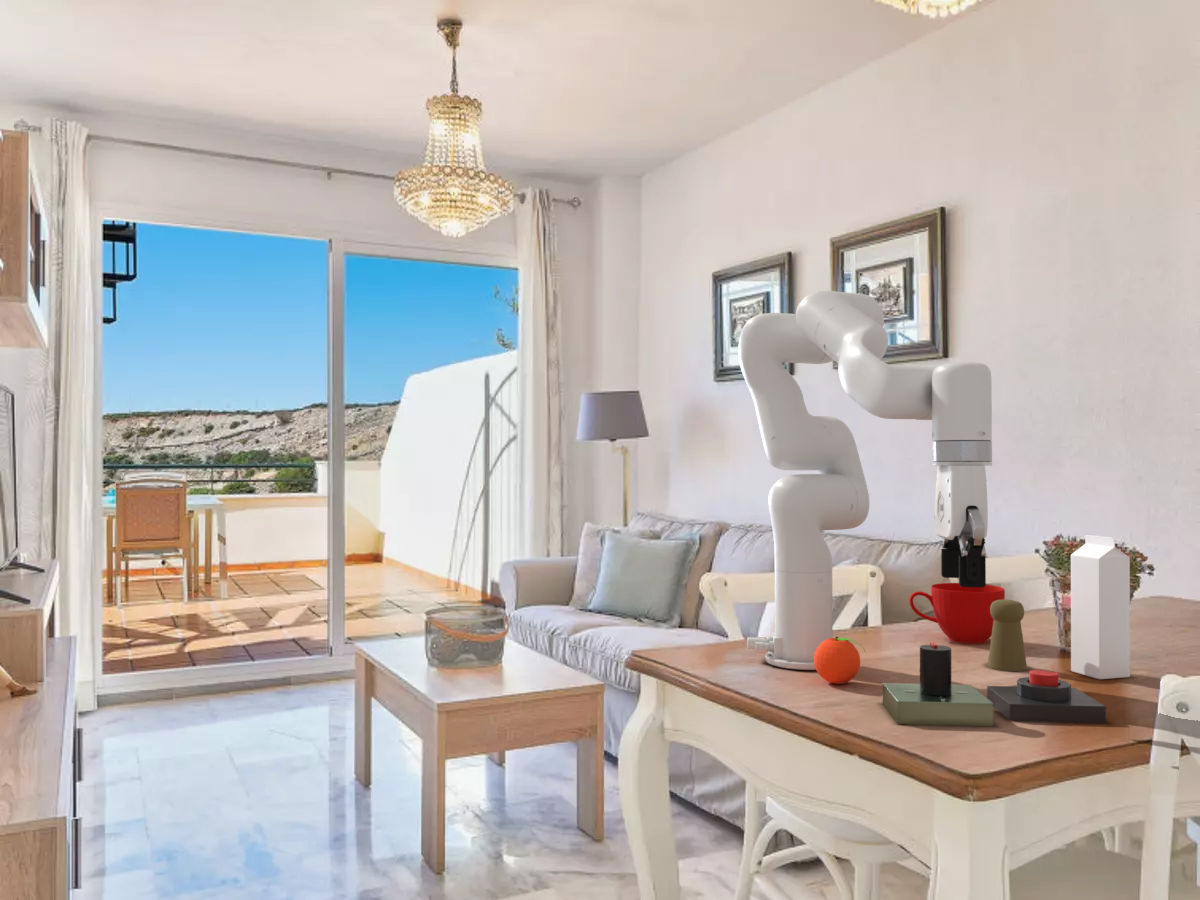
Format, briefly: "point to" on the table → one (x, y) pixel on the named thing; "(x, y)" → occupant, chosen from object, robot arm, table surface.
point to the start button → (1043, 677)
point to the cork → (1007, 636)
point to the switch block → (1045, 703)
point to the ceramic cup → (962, 610)
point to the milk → (1100, 609)
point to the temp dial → (935, 669)
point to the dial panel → (937, 706)
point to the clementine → (837, 660)
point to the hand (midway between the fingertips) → (962, 582)
